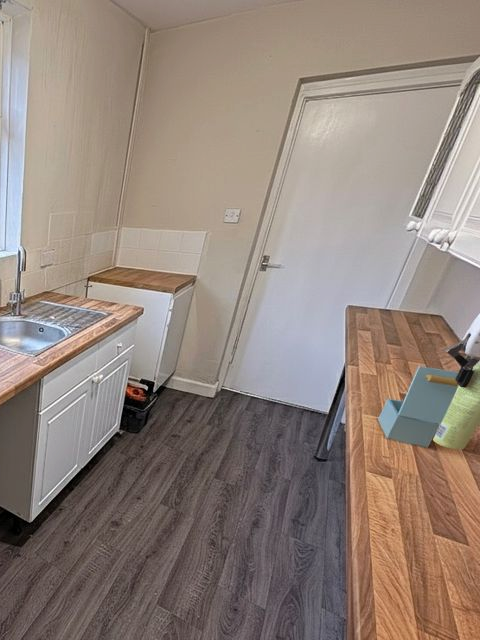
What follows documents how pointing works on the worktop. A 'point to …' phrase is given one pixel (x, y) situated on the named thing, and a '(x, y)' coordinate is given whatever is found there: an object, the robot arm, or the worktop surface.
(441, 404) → the chest lid
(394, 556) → the worktop surface
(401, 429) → the chest
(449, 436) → the tube
